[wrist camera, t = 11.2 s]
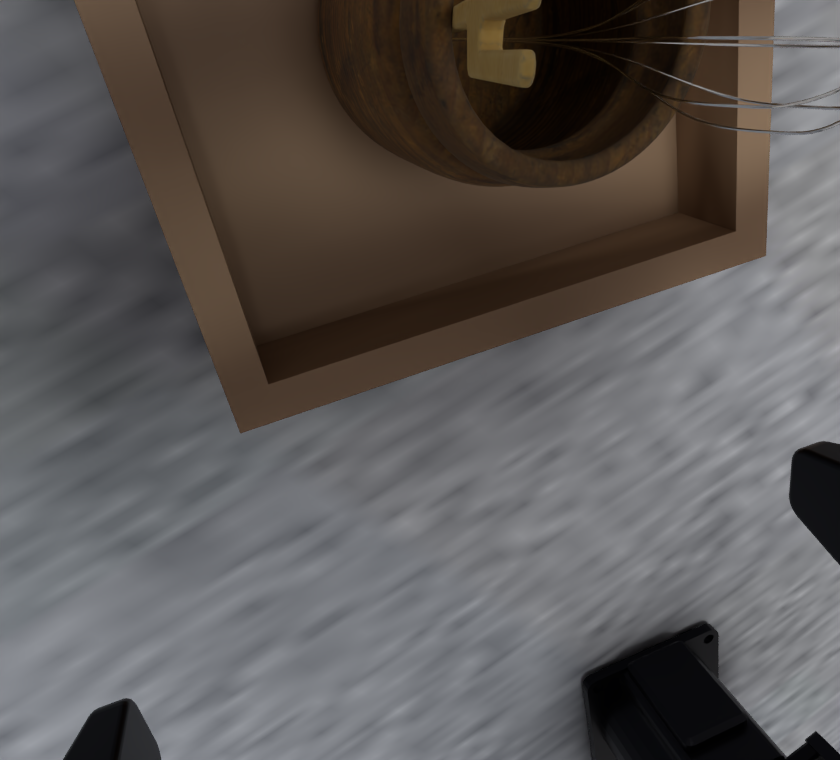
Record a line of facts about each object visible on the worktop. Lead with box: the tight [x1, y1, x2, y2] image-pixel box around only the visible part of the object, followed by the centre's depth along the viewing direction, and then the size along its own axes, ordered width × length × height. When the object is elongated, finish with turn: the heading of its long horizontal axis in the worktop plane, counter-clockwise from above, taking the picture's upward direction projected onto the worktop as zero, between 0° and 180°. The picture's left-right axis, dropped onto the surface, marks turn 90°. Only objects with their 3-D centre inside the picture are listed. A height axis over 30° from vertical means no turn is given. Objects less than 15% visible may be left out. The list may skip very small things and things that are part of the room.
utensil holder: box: [317, 0, 840, 188], centre depth 12 cm, size 6×6×12 cm
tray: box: [74, 0, 775, 433], centre depth 16 cm, size 15×15×4 cm
